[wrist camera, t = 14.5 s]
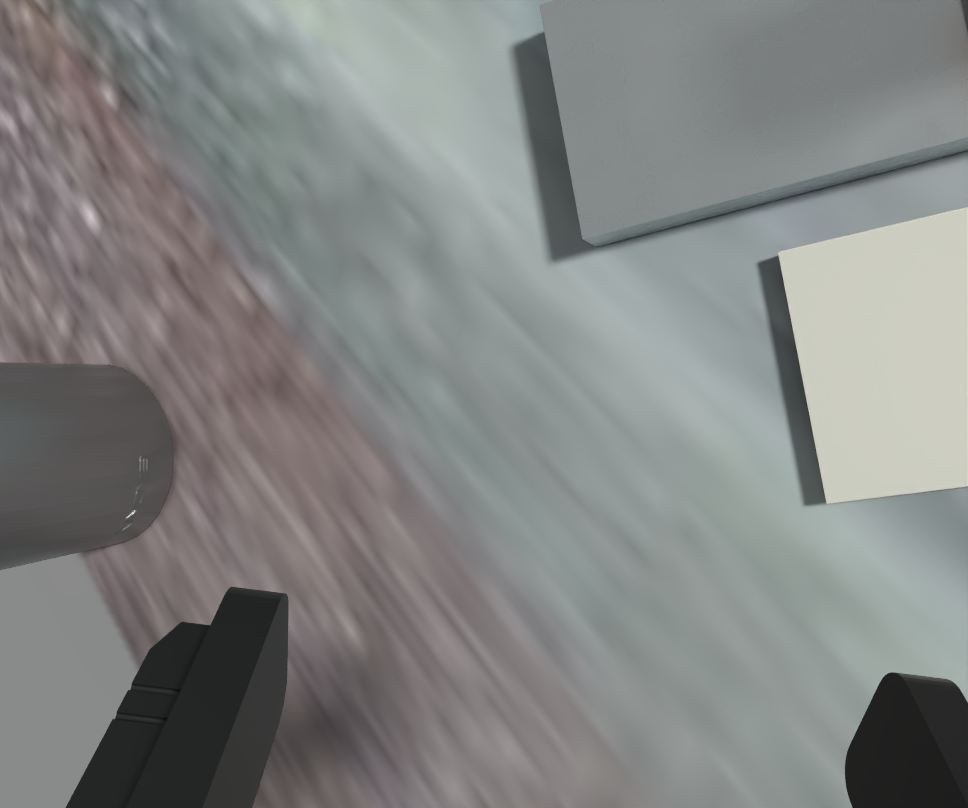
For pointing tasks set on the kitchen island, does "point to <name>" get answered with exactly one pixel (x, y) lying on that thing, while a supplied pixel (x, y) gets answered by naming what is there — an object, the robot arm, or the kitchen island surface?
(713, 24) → the grey slotted base
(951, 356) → the pad
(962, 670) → the kitchen island surface
